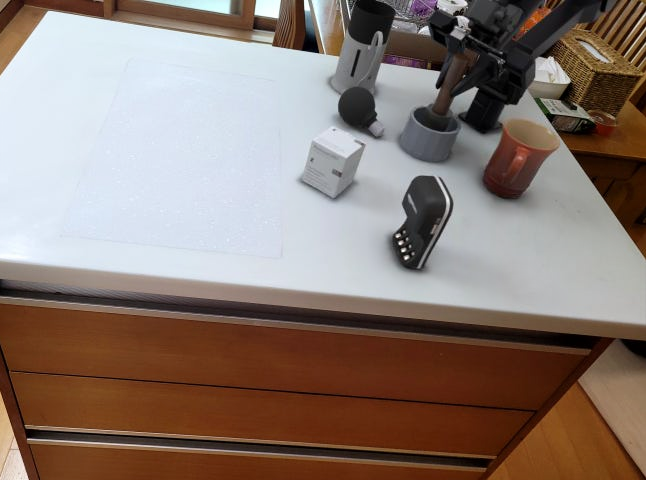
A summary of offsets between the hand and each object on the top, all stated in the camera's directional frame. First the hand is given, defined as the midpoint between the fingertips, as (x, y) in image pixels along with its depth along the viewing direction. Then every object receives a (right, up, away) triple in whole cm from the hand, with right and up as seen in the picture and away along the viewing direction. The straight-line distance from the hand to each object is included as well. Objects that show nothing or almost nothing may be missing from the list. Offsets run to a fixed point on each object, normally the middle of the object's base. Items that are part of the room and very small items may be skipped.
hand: (443, 92), depth 87 cm
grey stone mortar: (-1, -7, +8) cm, 11 cm away
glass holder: (-12, +6, +18) cm, 22 cm away
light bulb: (-12, -3, +10) cm, 16 cm away
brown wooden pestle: (0, -4, +5) cm, 7 cm away
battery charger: (-9, -26, -12) cm, 30 cm away
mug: (+10, -16, +3) cm, 19 cm away
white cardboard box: (-19, -15, -3) cm, 24 cm away
